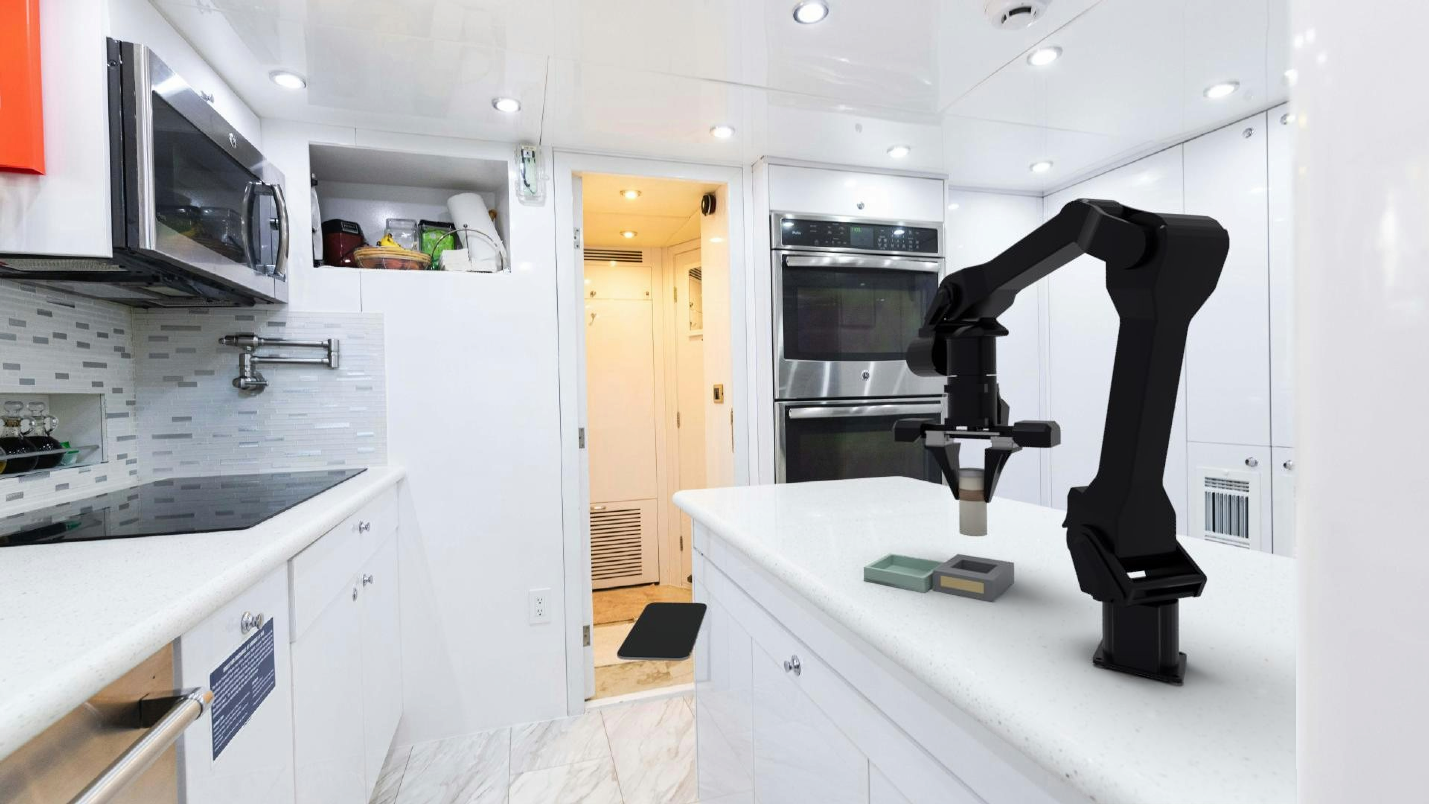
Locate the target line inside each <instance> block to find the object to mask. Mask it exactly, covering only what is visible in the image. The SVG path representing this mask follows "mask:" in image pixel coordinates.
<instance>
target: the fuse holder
mask: <svg viewBox="0 0 1429 804" xmlns="http://www.w3.org/2000/svg"><path fill="white" fill-rule="evenodd" d="M1014 583H1015V562H1013V561H1006V560H1000V559H994V558H986V557H980V556H972V555H967V554H961V553H957V554H955V555H954V556H952V557H951V558H950V559H947V560H946V561H945V563H943V564H942V565H940V566H939V567H937V568H935V569H934V570H933V587H932V591H935V592H941V593H945V594H949V595H955V596H959V597H960V596H961V597H965V598H970V599H976V600H981V601H984V602H985V601H986V602H992V603H993V602H995V601H996V600H997V599H998V598H999V597H1000V596H1001V595H1003V593H1004V592H1005V591H1006V590H1008V589H1009V588H1010V587H1011V586H1012V585H1013V584H1014Z"/></svg>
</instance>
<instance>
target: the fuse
mask: <svg viewBox="0 0 1429 804" xmlns="http://www.w3.org/2000/svg"><path fill="white" fill-rule="evenodd" d="M958 476H959V500H958V513H959V514H958V516H959V517H958V519H959V520H958V521H959V522H958V524H959V530H958V532H959V534H960V535H963V536H967V537H985V536H987V535H988V503H985V497H984V468H981V467H980V468H979V467H960V468H959V469H958Z"/></svg>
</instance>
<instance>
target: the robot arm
mask: <svg viewBox="0 0 1429 804" xmlns="http://www.w3.org/2000/svg"><path fill="white" fill-rule="evenodd" d="M1230 246H1231V245H1230V235H1229V232H1228V229H1227V228H1224V227H1223V225H1222V224H1221V223H1220V222H1219V221H1218V220H1217V219H1215V218H1213V217H1211V216H1210V215H1200V214H1199V215H1198V214H1183V213H1170V212H1169V213H1168V212H1167V213H1165V212H1152V211H1147V210H1143V209H1139V208H1135V207H1131V206H1129V205H1125V204H1122V203H1120V202H1119V201H1117V200H1114V199H1103V198H1102V199H1101V198H1088V197H1087V198H1086V197H1082V198H1079V197H1078V198H1076V199H1074V200H1070V201H1069V202H1067V203H1065V204H1064V205H1063V206H1062V208H1060V211H1059V212H1058V213H1057V214H1056V215H1054V216H1053V217H1051V218H1050V219H1048V220H1047V221H1046V222H1044V223H1042V224H1041V225H1039V226H1038V227H1036V229H1034V230H1033V231H1031V232H1030V233H1028V234H1027V235H1025V236H1024V237H1023V238H1021V239H1020V240H1018V241H1017V242H1014V244H1012V245H1011V246H1010V247H1007V248H1006V249H1005V250H1003V251H1001V253H999V254H997V256H995V257H993V258H992V259H990V260H989V261H986V262H984V263H980V264H975V265H970V266H967V267H963V268H960V269H959V270H956V271H954V272H952V273H949V274H947V275H946V276H944V277H943V279H941V281H940V283H939V286H938V287H937V290H936V292H935V295H934V297H933V299H932V302H931V305H930V308H929V309H928V311H927V313H926V314H925V315H924V318H923V320H924V322H923V325H922V327H920V328H918V331H917V332H918V334H917V335H918V337H916V338H914V339H913V340H912V341H911V342H910V343H909V345H908V347H907V351H906V352H905V362H906V366H907V367H908V369H909V370H910V372H911V373H912V374H913V375H915V376H917V377H921V378H935V377H938V378H939V377H946V384H943V393H944V394H946V398H947V399H946V406H947V408H946V410H947V411H946V412H947V414H946V415H947V416H946V417H944V419H943V420H944V423H937V421H936V418H925V417H924V418H922V417H921V418H916V417H910V418H909V417H908V418H902V419H896V420H895V422H894V424H893V427H891V435H892V436H891V438H892V440H891V441H892V442H897V443H916V442H917V441H918V440H920V439H923V440H924V439H925V444H924V445H922V449H923V450H926V451H930V453H931V454H932V457H933V458H934V460H935V462H936V463H937V465H938V467H939V468H940V470H941V472H942V474H943V476H944V478H945V480H946V483H947V485H948V487H949V489H950V492H951V494H952V496H953V498H954V500H956V501H959V476H958V469H959V468H961V467H960V465H961V464H960V451H961V445H962V442H957V441H956V442H955V440H956V439H958V440H959V439H963V440H988V441H989V440H990V443H991V446H989V447H986V448H984V456H983V457H984V463H983V465H984V466H983V467H984V468H983V469H984V497H985V503H987V504H990V503H991V502H992V499H993V498H994V497H993V496H994V495H995V493H996V489H997V486H998V484H999V480H1000V478H1001V475H1002V472H1003V469H1005V468H1004V467H1005V466H1006V464H1007V462H1008V460H1009V458H1010V457H1011V455H1012V454H1015V453H1018V452H1020V451H1022V450H1023V448H1035V449H1037V448H1038V449H1052V448H1053V447H1057V446H1059V445H1061V444H1062V442H1061V441H1062V440H1061V439H1062V436H1061V435H1062V433H1061V431H1062V430H1061V427H1060V424H1059V423H1058V422H1057V421H1055V420H1035V419H1034V420H1033V419H1029V420H1028V419H1027V420H1026V419H1024V420H1019V421H1015V422H1014V423H1013V425H1009V421H1010V420H1009V418H1010V411H1011V409H1010V408H1011V407H1010V405H1009V404H1008V403H1007V401H1005V400H1004V399H1003V398H1002V397H1001V392H1000V383H998V382H997V380H998V378H997V376H998V375H997V338H999V337H1007V336H1009V334H1010V331H1009V330H1008V328H1006V327H1005V326H1004V325H1002V324H1001V323H1000V322H999V320H998V318H999V317H1000V316H1001V315H1002V314H1003V313H1005V312H1006V311H1007V310H1008V309H1010V308H1011V307H1012V306H1013V305H1014V303H1015V299H1016V298H1017V297H1016V296H1017V295H1018V294H1019V293H1020V292H1021V291H1022V290H1024V289H1026V288H1027V287H1029V286H1030V285H1032V284H1034V283H1036V282H1038V281H1039V280H1042V279H1043V278H1045V277H1047V276H1048V275H1049V274H1052V273H1054V272H1055V271H1057V270H1058V269H1060V268H1062V267H1064V266H1065V265H1068V264H1069V263H1071V262H1072V261H1074V260H1076V259H1077V258H1079V257H1081V256H1082V255H1084V254H1087V255H1089V256H1091V257H1093V258H1096V259H1098V260H1100V261H1102V262H1104V263H1105V288H1106V291H1107V293H1108V296H1109V297H1110V299H1111V302H1112V303H1113V306H1114V308H1115V311H1116V313H1117V315H1118V317H1119V325H1118V334H1117V340H1116V345H1115V354H1114V359H1113V368H1112V373H1111V380H1110V381H1111V382H1110V388H1109V394H1108V400H1107V401H1108V403H1107V406H1106V407H1107V408H1106V414H1105V421H1104V429H1103V436H1102V441H1101V448H1100V449H1101V450H1100V455H1099V462H1098V470H1097V472H1096V475H1095V477H1094V478H1093V479H1092V480H1091V481H1090V483H1089V484H1088V485H1081V486H1071V487H1070V488H1069V490H1068V493H1067V497H1066V507H1067V508H1066V515H1065V518H1064V520H1063V522H1062V523H1061V527H1062V528H1063V529H1066V533H1065V535H1066V538H1065V539H1066V541H1065V542H1066V547H1067V550H1068V551H1069V554H1070V557H1071V560H1072V564H1073V568H1074V571H1075V575H1076V578H1077V582H1078V585H1079V588H1080V589H1079V590H1080V591H1081V592H1082V593H1084V594H1087V595H1090V596H1091V597H1092V599H1093V600H1095V601H1097V602H1101V609H1102V610H1101V611H1102V612H1101V613H1102V614H1101V618H1102V619H1101V622H1102V624H1101V628H1102V629H1101V630H1102V631H1101V633H1102V636H1101V637H1102V638H1101V640H1100V642H1099V643H1098V646H1097V648H1096V650H1095V652H1094V654H1093V655H1092V663H1093V665H1096V666H1101V667H1105V668H1107V669H1108V668H1109V669H1113V670H1117V671H1121V672H1126V673H1129V674H1134V675H1138V676H1143V677H1147V678H1151V679H1155V680H1160V681H1163V682H1168V683H1173V684H1176V685H1178V684H1179V685H1180V684H1183V682H1184V677H1185V673H1186V672H1185V671H1186V667H1187V666H1186V665H1187V661H1188V660H1187V659H1188V656H1187V653H1185V652H1183V651H1180V599H1186V598H1200V597H1201V596H1202V594H1203V591H1204V589H1205V586H1206V584H1207V581H1208V576H1207V575H1206V573H1204V571H1203V570H1202V568H1200V566H1199V565H1198V563H1196V561H1195V560H1194V559H1193V557H1192V556H1191V555H1190V554H1189V553H1188V552H1187V550H1186V549H1185V548H1184V546H1183V545H1182V544H1181V543H1180V542H1179V540H1178V538H1177V514H1176V510H1175V508H1174V505H1173V503H1172V502H1171V499H1170V497H1169V495H1168V493H1167V491H1166V489H1165V487H1164V475H1165V470H1166V462H1167V456H1168V452H1169V446H1170V445H1169V444H1170V440H1171V434H1172V428H1173V427H1172V426H1173V422H1174V417H1175V416H1174V415H1175V410H1176V403H1177V396H1178V391H1179V386H1180V380H1181V373H1182V367H1183V362H1184V357H1185V350H1186V345H1187V337H1188V332H1189V326H1190V324H1191V322H1192V320H1193V318H1194V317H1195V316H1196V314H1197V313H1198V312H1199V311H1200V309H1201V308H1202V307H1203V305H1204V304H1206V302H1207V300H1209V298H1210V297H1211V296H1212V294H1213V293H1214V292H1215V291H1216V288H1217V286H1218V283H1219V280H1220V278H1221V274H1222V272H1223V269H1224V266H1225V264H1226V260H1227V257H1228V255H1229V251H1230ZM959 427H961V428H959ZM963 427H964V428H965V427H966V428H965V429H964V428H963ZM1137 572H1144V575H1143V576H1136V577H1130V576H1129V574H1130V573H1137Z"/></svg>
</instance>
